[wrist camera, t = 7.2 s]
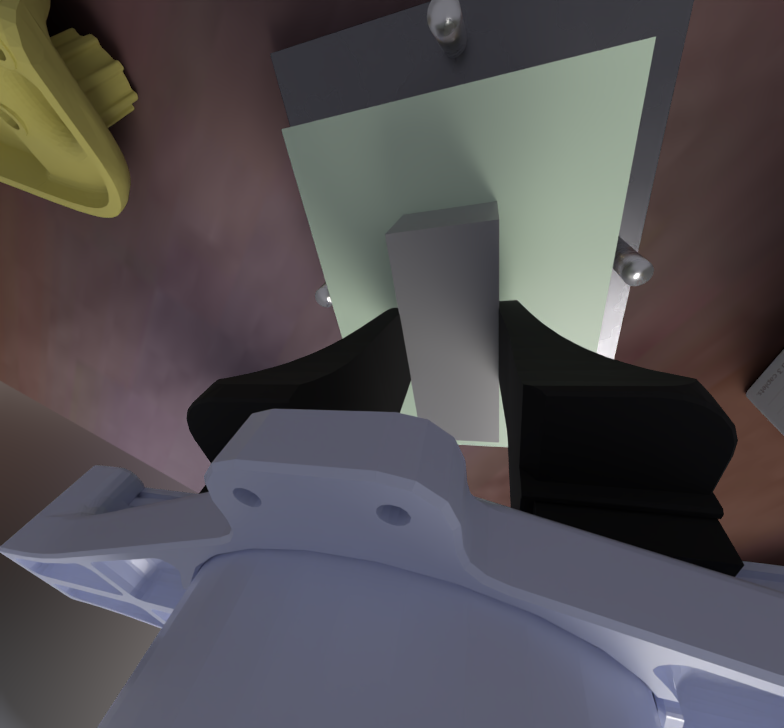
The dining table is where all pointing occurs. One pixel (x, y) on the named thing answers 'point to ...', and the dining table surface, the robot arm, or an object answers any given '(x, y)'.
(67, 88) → the plastic component
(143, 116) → the dining table surface
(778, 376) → the supplement box
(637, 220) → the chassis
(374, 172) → the board
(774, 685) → the robot arm
